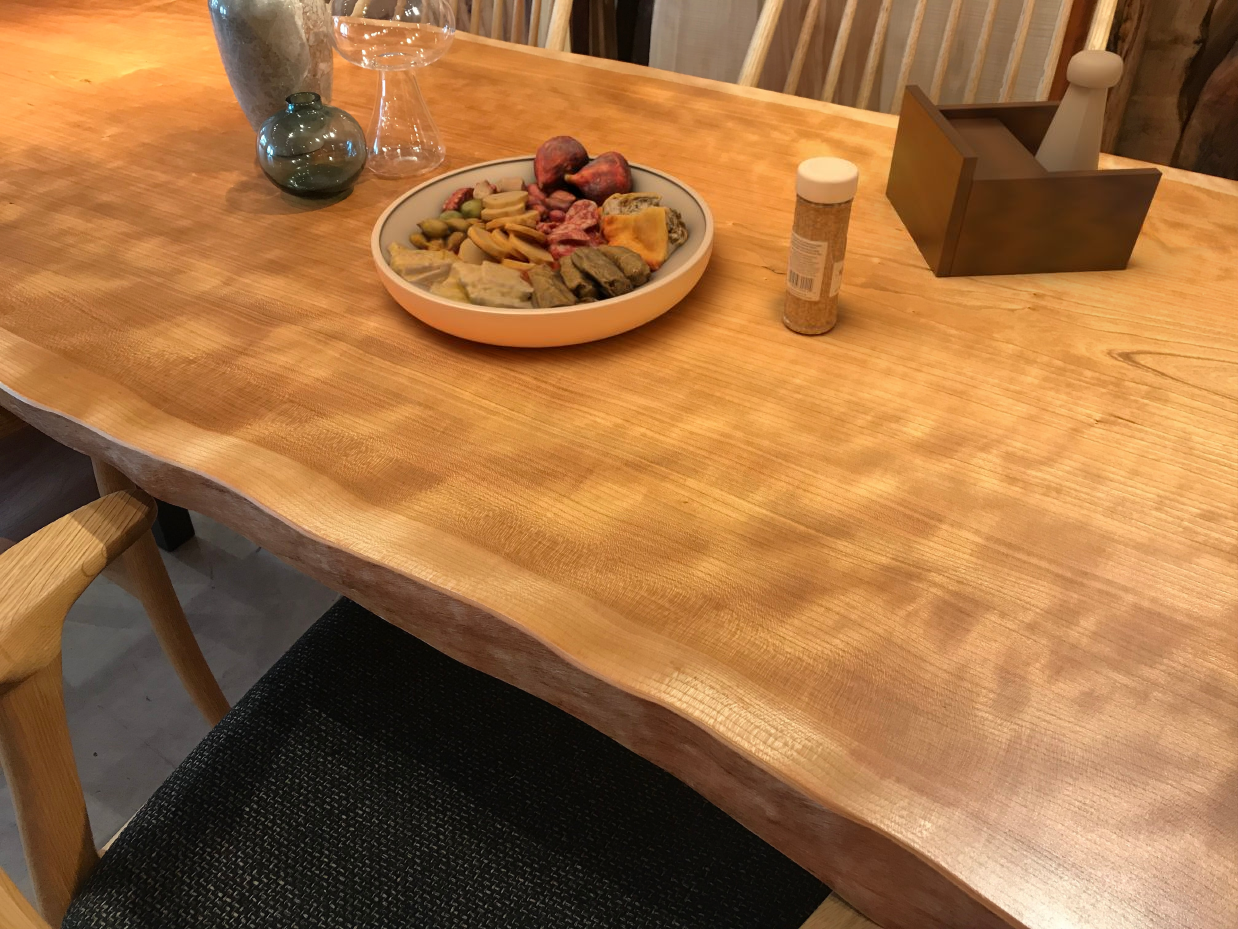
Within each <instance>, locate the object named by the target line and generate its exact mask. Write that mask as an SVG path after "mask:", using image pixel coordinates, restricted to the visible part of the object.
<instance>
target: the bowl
mask: <svg viewBox="0 0 1238 929" xmlns="http://www.w3.org/2000/svg"><path fill="white" fill-rule="evenodd" d="M378 217H379V218H378V219H377V221H376V223H375V224H374V226H373V230H372V233H371V237H370V249H371V253H372V259H373V263H374V266H375V268H376V272H377V274H378V276H379V278H380V280H381V282H382V285H384V287H385V289H386V290H387V291H388V293H389V294H390V295H391V297H392V298H393V299H394V300H395V302H397V303H398V304H399V305H400V307H402V308H403V309H405V311H407V312H408V313H409V314H411V315H412V316H414V317H415V318H416V319H418V320H419V321H421V322H423V323H424V324H426V325H428V326H430V327H432V328H434V329H436V330H439V331H442V332H443V333H446V334H449V335H452V336H454V337H458V338H461V339H464V340H469V341H472V342H477V343H481V344H482V343H483V344H487V345H493V346H503V347H513V348H551V347H563V346H572V345H579V344H584V343H590V342H594V341H599V340H603V339H606V338H610V337H613V336H617V335H620V334H624V333H627V332H628V331H629V332H630V331H631V330H634V329H636V328H638V327H640V326H643V325H645V324H647V323H650V322H651V321H653V320H655V319H657V318H658V317H660V316H662V315H663V314H665V313H667V312H668V311H669V310H670V309H671V308H673V307H675V306H676V305H677V304H679V303H680V302H681V301H682V300H683V299H684V298H685V297H686V296H687V295H688V294H689V293H690V292H691V291H692V290H693V289H694V287H695V286H696V285H697V283H698V282H699V281H700V279H701V277H702V276H703V274H704V272H705V271H706V268H707V266H708V265H709V262H710V259H711V256H712V253H713V247H714V241H715V220H714V215H713V213H712V210H711V207H709V204H708V203H707V201H705V199H704V198H703V197H702V196H701V194H700V193H698V192H697V191H696V190H695V189H694V188H693V187H691V186H690V185H688V184H687V183H685V182H684V181H682V180H680V179H679V178H677V177H675V176H673V175H671V174H669V173H668V172H667V173H666V172H664V171H661V170H659V169H656V168H654V167H651V166H648V165H644V164H642V163H637V162H634V161H629V160H627V158H625V157H624V155H622V153H619V152H617V151H614V150H613V151H611V150H609V151H606V152H604V153H601V154H600V155H589V154H588V152H587V150H586V148H585V147H584V145H583V144H582V143H581V142H580V141H578V139H576V138H574V137H573V136H571V135H558V136H555V137H552V138H550V139H548V140H545V142H544V143H542V144H541V146H540V147H539V148H538V150H537V152H536V154H529V155H519V156H512V157H505V158H504V157H503V158H499V159H493V160H488V161H483V162H479V163H475V164H471V165H467V166H464V167H460V168H457V169H453V170H451V171H448V172H445V173H442V174H440V175H437V176H434V177H432V178H430V179H428V180H425V181H424V182H422V183H420V184H418V185H417V186H416V185H415V186H414V187H412V188H411V189H409V190H408V191H406V192H405V193H403V194H402V195H400V196H399V197H398V198H397V199H395V200H394V201H393V202H392V203H390V205H388V207H387V208H386V209H384V211H382V213H381V214H380V216H378Z"/></svg>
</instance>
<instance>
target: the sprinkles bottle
mask: <svg viewBox="0 0 1238 929" xmlns="http://www.w3.org/2000/svg"><path fill="white" fill-rule="evenodd" d="M859 176H860V170H859V168H858V167H857V166H856V165H855V164H854V163H853V162H851V161H849V160H846V159H844V158H839V157H833V156H817V157H813V158H808V159H805V160H804V161H802V162H800V164H799V165H798V167H797V169H796V176H795V184H794V190H795V193H796V194H795V197H796V200H795V206H794V214H793V224H792V227H791V234H790V235H791V236H790V244H789V252H788V261H787V270H786V271H787V272H786V282H785V287H786V290H785V299H784V308H783V311H782V314H781V320H782V322H783V324H784V325H785V326H786V327H787V328H789V329H790V330H792V331H794V332H797V333H800V334H805V335H821V334H822V333H827V332H828V331H830V330H831V329H833V327H834V326H835V325H836V322H837V308H838V301H839V300H838V299H839V294H840V291H841V286H842V278H843V272H844V264H845V257H846V252H847V251H846V250H847V244H848V243H847V242H848V231H849V226H850V219H851V213H852V212H851V211H852V205H853V204H852V203H853V202H854V198H855V196H856V195H857V192H858V187H859V186H858V184H859Z"/></svg>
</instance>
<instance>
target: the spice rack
mask: <svg viewBox="0 0 1238 929" xmlns="http://www.w3.org/2000/svg"><path fill="white" fill-rule="evenodd" d="M1062 100H1063V99H1061V100H1040V101H1034V100H1033V101H1012V102H984V103H983V102H982V103H956V104H954V103H953V104H935V103H933V102H932V100H930V98H929V96H927V94H926V93H925V92H924V91H923V90H922V89H921V87H920V86H919V85H918V84H906V85H905V86H904V91H903V95H902V101H901V106H900V113H899V117H898V124H897V130H896V133H895V139H894V146H893V150H892V157H891V161H890V166H889V172H888V178H887V184H886V190H885V195H886V197H887V199H888V200H889V201H890V204H891V205H892V207H893V208H894V210H895V211H896V214H897V215H898V217H899V218H900V220H901V222H902V223H903V225H904V227H905V228H906V230H907V231H908V233H909V235H910V237H911V238H912V240H913V241H914V244H916V246H917V248H918V250H919V251H920V253H921V255H922V257H923V259H925V262H926V263H927V265H928V266H929V267H930V269H931V271H932V272H933V275H934V276H935V277H936V278H945V277H968V276H969V277H971V276H972V277H973V276H992V275H996V276H997V275H1019V274H1021V275H1023V274H1043V273H1044V274H1045V273H1047V274H1048V273H1066V272H1067V273H1069V272H1093V271H1095V272H1096V271H1119V270H1120V271H1121V270H1126V269H1127V266H1128V264H1129V262H1130V259H1131V256H1132V254H1133V251H1134V249H1135V246H1136V244H1137V241H1138V239H1139V236H1140V234H1141V231H1142V229H1143V226H1144V223H1145V220H1146V217H1147V215H1148V213H1149V210H1150V208H1151V205H1152V202H1153V199H1154V197H1155V194H1156V192H1157V190H1158V186H1159V184H1160V182H1161V179H1162V177H1163V172H1162V171H1161V170H1159V168H1157V167H1138V168H1136V167H1133V168H1112V169H1108V168H1107V169H1098V170H1081V171H1055V172H1048V171H1047V170H1046V169H1045V168H1044V167H1043V166H1042V165H1041V164H1040V163H1039V162H1038V161H1037V160H1036V159H1035V156H1036V154H1037V152H1038V150H1039V148H1040V146H1041V143H1042V141H1043V139H1044V137H1045V135H1046V133H1047V131H1048V129H1049V127H1050V125H1051V123H1052V120H1053V118H1054V116H1055V114H1056V112H1057V110H1058V108H1059V106H1060V104H1061V102H1062Z"/></svg>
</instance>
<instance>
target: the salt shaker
mask: <svg viewBox="0 0 1238 929" xmlns="http://www.w3.org/2000/svg"><path fill="white" fill-rule="evenodd" d="M1123 60H1124V59H1122V57H1121V56H1120V55H1118V54H1117V53H1114V52H1111V51H1108V50H1103V49H1085V50H1081V51H1078V52H1077V53H1075V54H1074V55H1073V56H1072V57H1071V58H1070V61H1069V62H1068V64H1067V69H1066V81H1068V82H1070V83H1069V85H1068V87H1067V89H1066V92H1065V94H1064V96H1063V97H1062V99H1061V100H1062V102H1061V104H1060V106H1059V108H1058V110H1057V112H1056V114H1055V116H1054V118H1053V120H1052V123H1051V125H1050V127H1049V129H1048V131H1047V133H1046V135H1045V137H1044V139H1043V141H1042V143H1041V146H1040V148H1039V150H1038V152H1037V154H1036V156H1035V159H1036V160H1037V161H1038V162H1039V163H1040V164H1041V165H1042V166H1043V167H1044V168H1045V169H1046V170H1047V171H1048V172H1055V171H1081V170H1099V162H1100V154H1101V145H1102V136H1103V127H1104V120H1105V114H1106V113H1105V112H1106V105H1107V98H1108V91H1109V88H1112V87H1114V86H1116V85H1117V84H1118V83H1119V81H1120V80H1121V76H1122V74H1123V71H1124V61H1123Z"/></svg>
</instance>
